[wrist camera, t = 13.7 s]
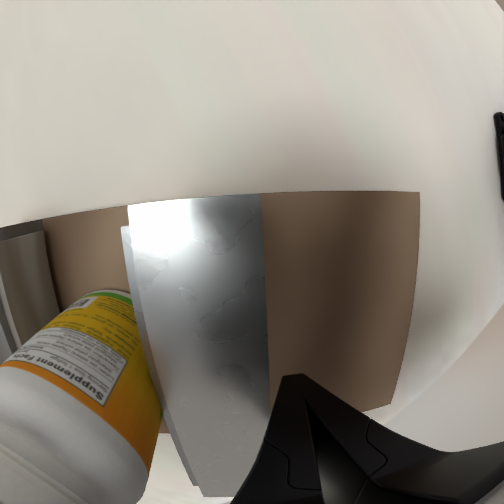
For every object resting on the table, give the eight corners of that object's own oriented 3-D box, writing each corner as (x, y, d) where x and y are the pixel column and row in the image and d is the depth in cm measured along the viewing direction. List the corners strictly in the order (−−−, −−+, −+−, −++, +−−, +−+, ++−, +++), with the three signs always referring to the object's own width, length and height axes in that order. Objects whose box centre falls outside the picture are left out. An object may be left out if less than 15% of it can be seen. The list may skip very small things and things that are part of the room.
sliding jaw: (248, 194, 10) (260, 193, 6) (262, 434, 12) (272, 493, 8) (155, 202, 10) (112, 207, 6) (199, 437, 12) (195, 496, 8)
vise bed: (402, 191, 12) (483, 196, 7) (380, 389, 15) (421, 446, 9) (20, 223, 11) (-52, 241, 5) (74, 405, 13) (42, 460, 8)
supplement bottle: (163, 402, 12) (126, 578, 2) (68, 360, 11) (-27, 494, 2) (194, 315, 11) (141, 566, 1) (80, 266, 10) (-99, 390, 1)
